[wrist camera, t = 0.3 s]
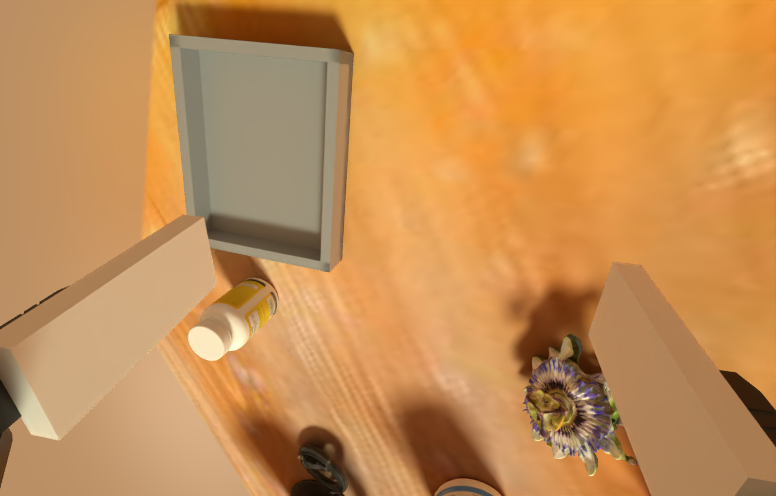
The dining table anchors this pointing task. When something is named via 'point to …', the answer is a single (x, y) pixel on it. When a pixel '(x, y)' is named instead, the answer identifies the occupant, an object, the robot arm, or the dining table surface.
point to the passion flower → (572, 407)
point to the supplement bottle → (233, 319)
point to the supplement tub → (465, 488)
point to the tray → (265, 145)
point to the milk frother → (319, 474)
